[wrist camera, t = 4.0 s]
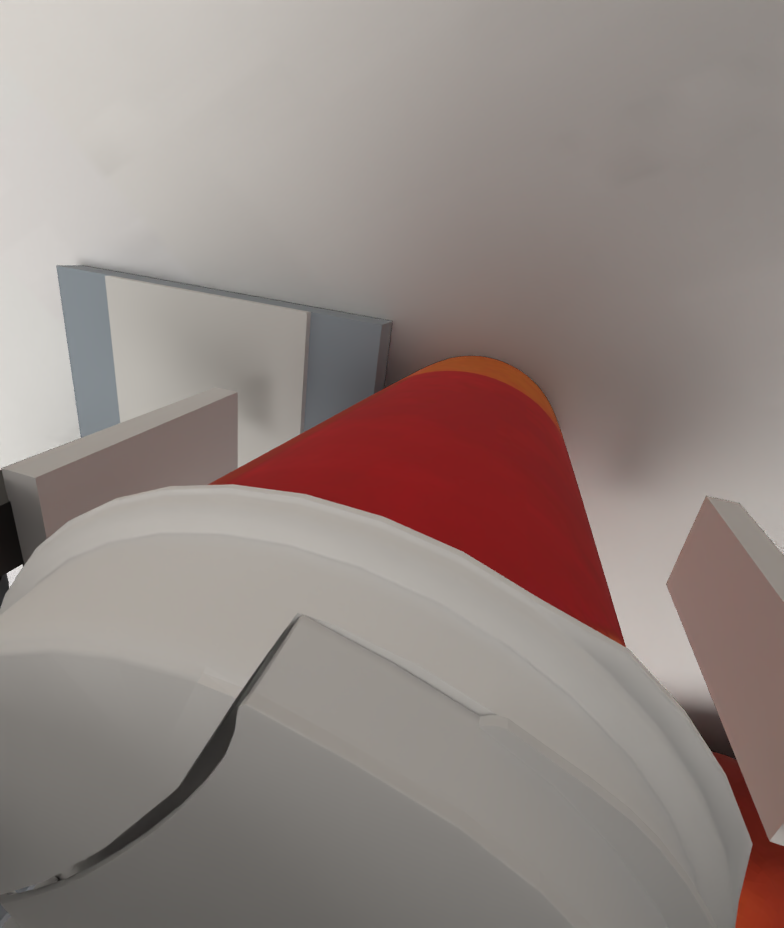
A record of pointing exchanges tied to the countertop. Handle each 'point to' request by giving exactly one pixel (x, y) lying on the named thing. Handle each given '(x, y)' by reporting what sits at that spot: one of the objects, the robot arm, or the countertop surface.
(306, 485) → the coffee cup
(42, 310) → the countertop surface
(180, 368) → the frame
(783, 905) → the tomato
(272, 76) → the countertop surface
